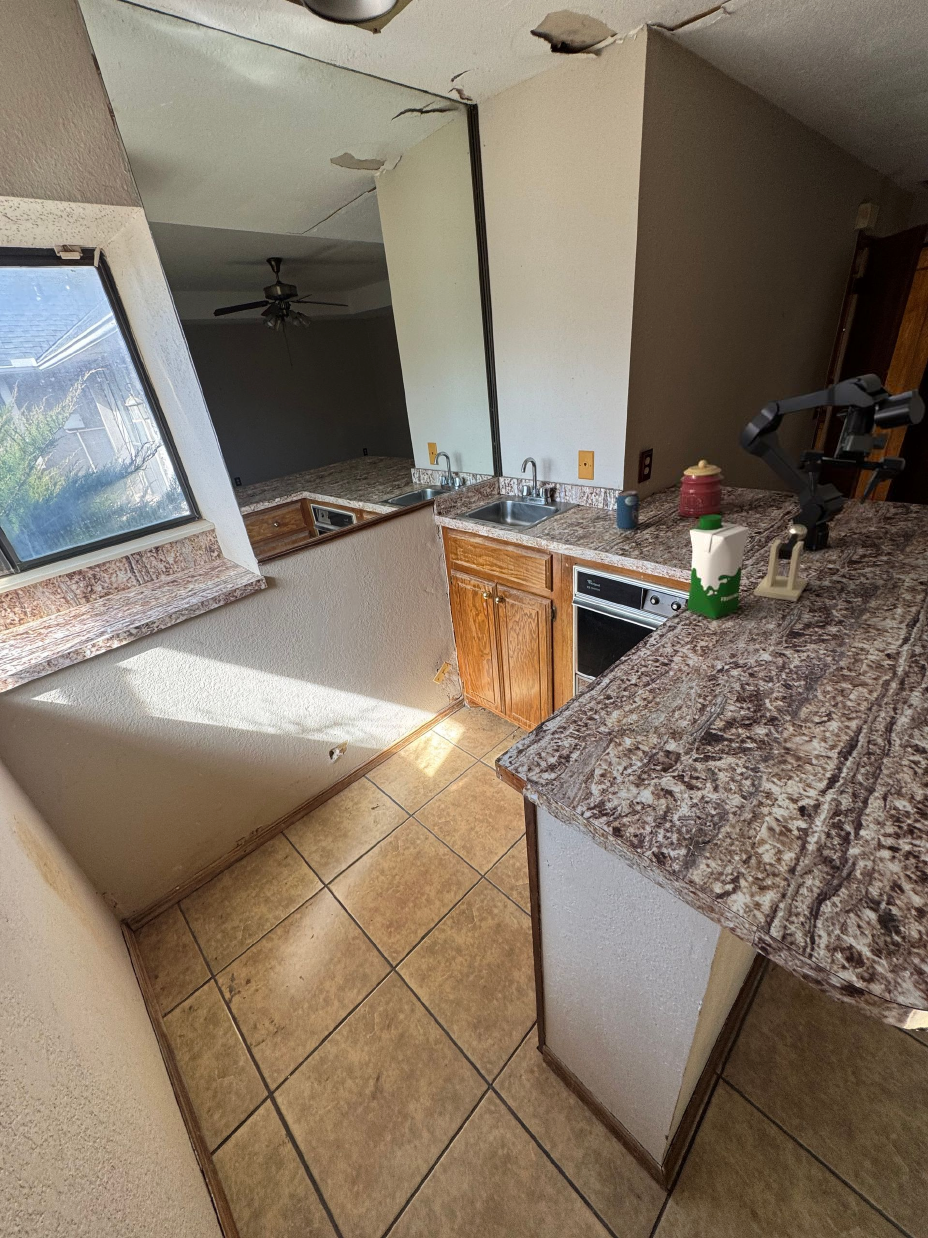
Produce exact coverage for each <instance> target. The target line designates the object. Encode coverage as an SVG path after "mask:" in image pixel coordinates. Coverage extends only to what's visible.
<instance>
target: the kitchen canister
mask: <svg viewBox="0 0 928 1238" xmlns="http://www.w3.org/2000/svg"><path fill="white" fill-rule="evenodd" d="M721 472H722V468H720V467H718V466H717V465H715V464H708V461H707V460H705V459H701V460H700V461H699V462H698V465H694V466H693V465H692V466H690V467H688V469H686V470H684V471H683V474H684V476H682V477H681V478H680V482H681V487H680V497H679V506H678V507H679V508H678V510H679V514H680V515H681V516H684V517H689V518H700V517H701V516H703V515H719V513H720V512H721V509H722V493H723V488H724V487H723V485H722V481H723V480H724V478H725V477H724V475H723V474H721Z"/></svg>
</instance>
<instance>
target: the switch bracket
mask: <svg viewBox="0 0 928 1238" xmlns="http://www.w3.org/2000/svg"><path fill="white" fill-rule="evenodd" d="M782 542H783V540H782V539H776V540H775V541H774V542H773V544H771V546H770V547H769V560H768V566H767V567H768V568H767V574H766V575H765V576H764V578H763V579H762V580H761V581H760V583H759V584H758V585H757V586H756V587H755V589H754V591H753V596H759V597H765V598H771V599H777V600H779V599H780V600H785V601H792V602H797V601H798V599H799V598H800V596H801V594H802V593H803V591H804V590H805V588H806V587H807V584H808V579H806V578H799V573H800V566H801V560H802V557H803V556H804V553H805V552H804V551H805V550H804V549H803V544H804V542H802V541H798V542H797V544H796V545H795V546H794V548H793V553H792V557H791V559H790V567H789V572H788V576H781V575H778V569H779V562H780V559H778V556H779V549H780V547H781V546H782V544H783V543H782Z"/></svg>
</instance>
